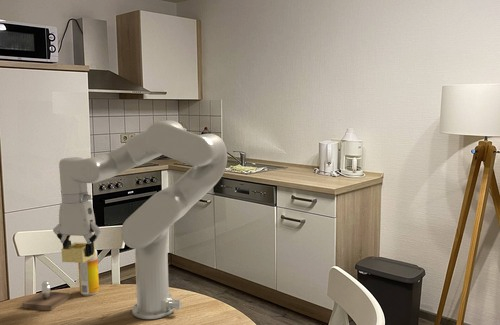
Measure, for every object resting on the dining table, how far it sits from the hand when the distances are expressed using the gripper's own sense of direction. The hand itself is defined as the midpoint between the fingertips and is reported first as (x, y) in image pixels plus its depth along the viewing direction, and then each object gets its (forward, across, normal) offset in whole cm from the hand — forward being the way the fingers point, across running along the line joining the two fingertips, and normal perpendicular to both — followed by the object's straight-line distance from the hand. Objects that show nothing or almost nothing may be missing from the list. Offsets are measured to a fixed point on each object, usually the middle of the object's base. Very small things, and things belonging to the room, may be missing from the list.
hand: (78, 254), depth 146 cm
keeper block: (+16, +13, 0) cm, 21 cm away
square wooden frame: (+1, 0, 0) cm, 1 cm away
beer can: (+17, +4, -10) cm, 20 cm away
